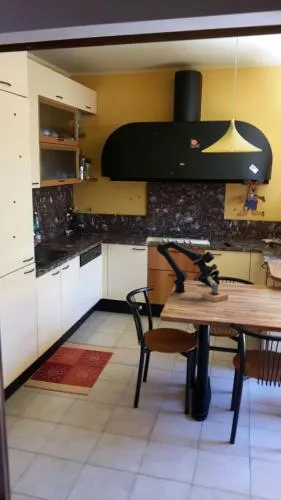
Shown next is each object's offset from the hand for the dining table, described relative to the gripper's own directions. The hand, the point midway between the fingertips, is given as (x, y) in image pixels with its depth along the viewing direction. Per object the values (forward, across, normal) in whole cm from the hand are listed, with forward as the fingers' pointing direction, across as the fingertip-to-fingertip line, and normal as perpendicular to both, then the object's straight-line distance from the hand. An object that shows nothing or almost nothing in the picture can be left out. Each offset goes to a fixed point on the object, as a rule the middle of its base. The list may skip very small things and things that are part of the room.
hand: (215, 285), depth 277 cm
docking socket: (+6, 0, +6) cm, 9 cm away
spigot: (+6, 0, +6) cm, 9 cm away
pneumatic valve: (-10, +24, +23) cm, 35 cm away
